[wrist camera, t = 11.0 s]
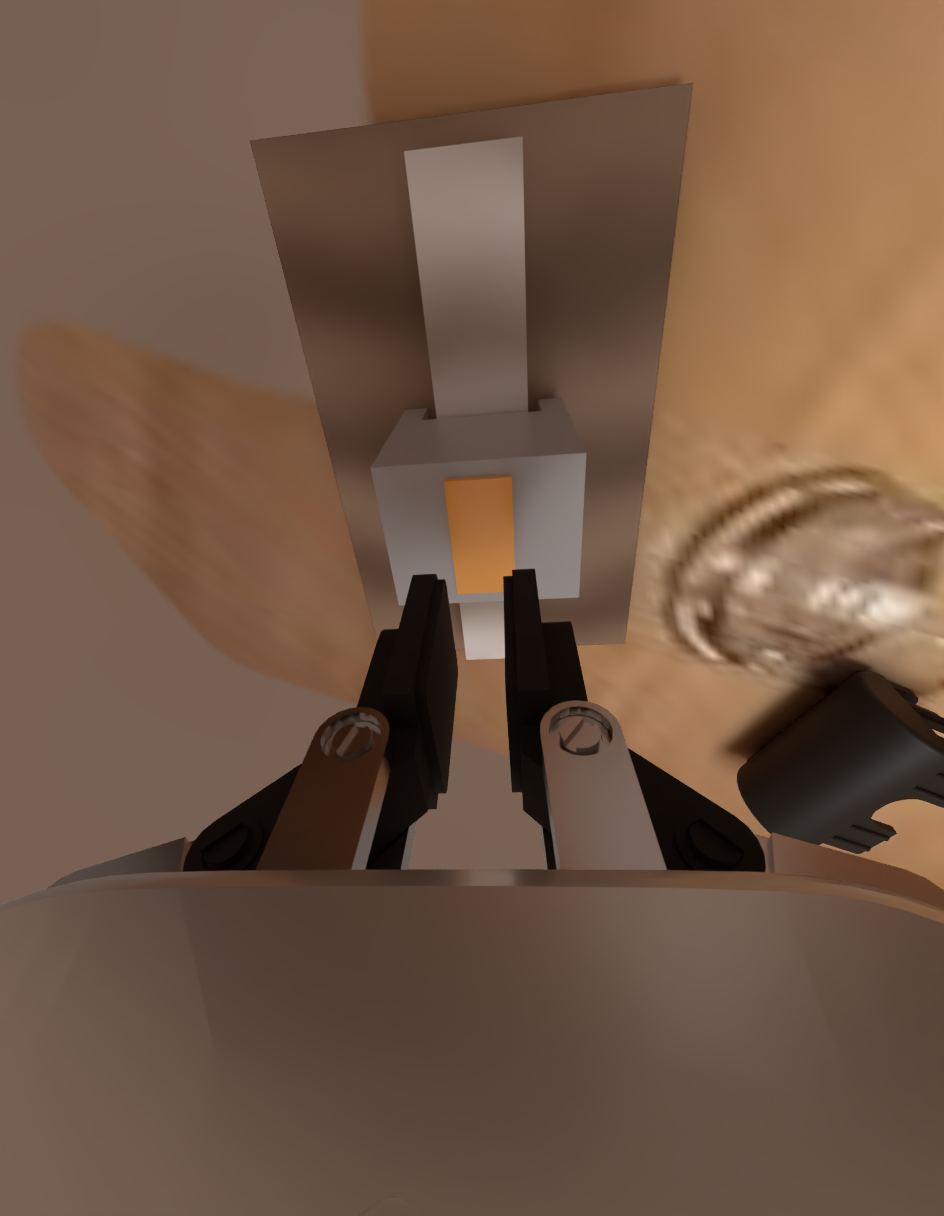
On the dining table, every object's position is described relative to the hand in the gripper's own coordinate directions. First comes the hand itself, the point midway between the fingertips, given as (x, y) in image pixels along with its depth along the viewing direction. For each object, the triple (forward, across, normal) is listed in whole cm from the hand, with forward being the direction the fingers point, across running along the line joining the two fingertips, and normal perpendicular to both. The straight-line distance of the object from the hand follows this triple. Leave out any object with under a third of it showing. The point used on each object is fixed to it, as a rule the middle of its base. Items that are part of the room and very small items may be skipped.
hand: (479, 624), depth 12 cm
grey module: (+11, 0, 0) cm, 11 cm away
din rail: (+13, 0, 0) cm, 13 cm away
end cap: (+13, -20, +19) cm, 31 cm away
